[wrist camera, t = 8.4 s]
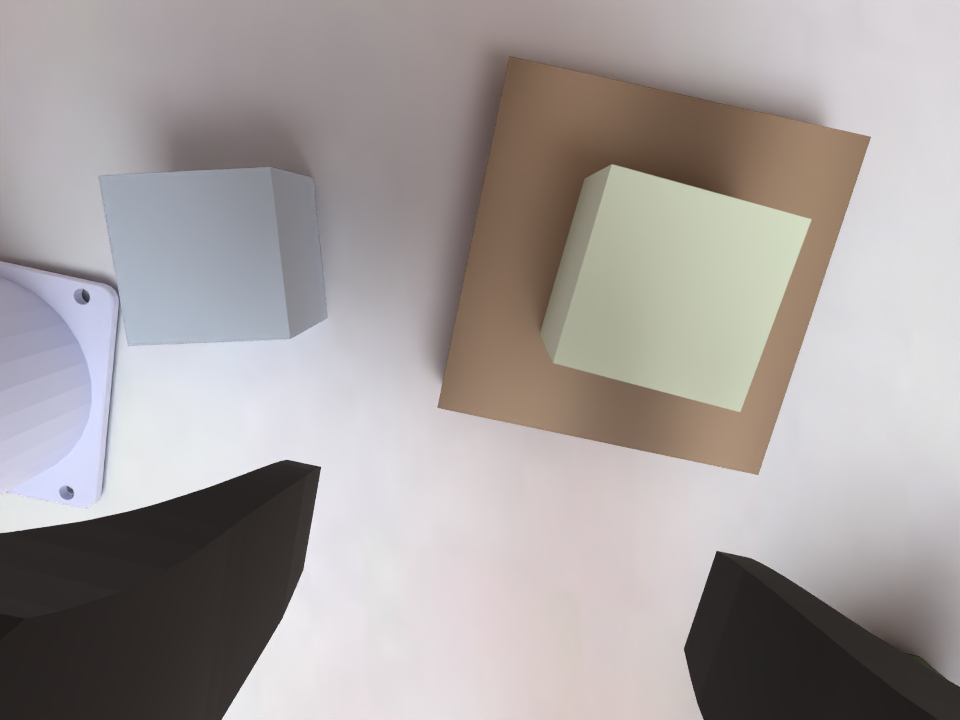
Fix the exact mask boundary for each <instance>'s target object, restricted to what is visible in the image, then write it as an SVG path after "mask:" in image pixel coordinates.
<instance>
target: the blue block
mask: <svg viewBox="0 0 960 720" xmlns="http://www.w3.org/2000/svg"><path fill="white" fill-rule="evenodd" d="M99 181H100V187H101V192H102V198H103V204H104V210H105V216H106V222H107V227H108V233H109V239H110V245H111V251H112V256H113V262H114V268H115V274H116V280H117V285H118V291H119V297H120V303H121V309H122V315H123V320H124V326H125V332H126V338H127V344H128V346H137V345H161V344H184V343H207V342H231V341H254V340H277V339H291V338H293V337H294V336H296V335H298V334H300V333H302V332H303V331H305V330H307V329H309V328H310V327H312V326H314V325H316V324H317V323H319V322H321V321H323V320H325V319H326V318H327V308H326V298H325V288H324V278H323V268H322V258H321V248H320V238H319V228H318V219H317V209H316V199H315V189H314V179H313V178H312V177H308V176H305V175H301V174H297V173H293V172H289V171H285V170H281V169H278V168H274V167H254V168H234V169H215V170H195V171H176V172H156V173H137V174H118V175H99Z"/></svg>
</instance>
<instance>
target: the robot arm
mask: <svg viewBox="0 0 960 720" xmlns="http://www.w3.org/2000/svg"><path fill="white" fill-rule="evenodd" d="M83 289H84V290H86V291H87V292H88V293H89V295H90V300H89V302H86V301H84V299H83V298H82V291H83ZM118 306H119V299H118V295H117V293H116V291H115V290H114V289H113V288H112V287H111V286H109V285H107V284H104V283H99V282H94V281H90V280H85V279H81V278H76V277H71V276H67V275H62V274H58V273H53V272H49V271H44V270H39V269H35V268H30V267H26V266H21V265H16V264H12V263H7V262H3V261H0V495H2V494H3V493H10V494H15V495H20V496H25V497H29V498H34V499H39V500H44V501H49V502H54V503H58V504H63V505H68V506H73V507H78V508H88V507H91V506H92V505H94V504H95V503H97V502H98V501H99V500H100V497H101V493H102V482H103V471H104V460H105V449H106V438H107V427H108V416H109V405H110V394H111V383H112V372H113V361H114V350H115V339H116V328H117V317H118ZM320 470H321V467H318V466H314V465H309V464H304V463H300V462H295V461H290V460H284V461H280V462H276V463H273V464H270V465H268V466H265V467H262V468H260V469H257V470H254V471H252V472H249V473H246V474H244V475H241V476H238V477H236V478H233V479H230V480H228V481H225V482H222V483H219V484H217V485H214V486H211V487H208V488H205V489H202V490H199V491H196V492H193V493H190V494H187V495H184V496H180V497H177V498H174V499H171V500H168V501H165V502H162V503H159V504H155V505H151V506H148V507H144V508H140V509H136V510H132V511H128V512H124V513H120V514H115V515H110V516H106V517H101V518H97V519H92V520H87V521H82V522H76V523H69V524H62V525H56V526H49V527H42V528H35V529H29V530H22V531H15V532H8V533H0V720H222V718H223V716H224V715H225V713H226V711H227V710H228V708H229V706H230V705H231V703H232V701H233V700H234V698H235V696H236V695H237V693H238V691H239V690H240V688H241V686H242V685H243V683H244V682H245V680H246V678H247V677H248V675H249V673H250V672H251V670H252V668H253V667H254V665H255V663H256V662H257V660H258V658H259V657H260V655H261V653H262V652H263V650H264V648H265V647H266V645H267V643H268V642H269V640H270V638H271V637H272V635H273V633H274V632H275V630H276V628H277V626H278V625H279V623H280V621H281V620H282V618H283V615H284V613H285V611H286V609H287V606H288V604H289V602H290V600H291V597H292V595H293V593H294V590H295V588H296V586H297V583H298V581H299V579H300V576H301V574H302V572H303V568H304V562H305V557H306V551H307V545H308V539H309V533H310V528H311V522H312V516H313V510H314V505H315V499H316V493H317V487H318V482H319V476H320ZM67 486H69V487H71V488H72V489H73V491H74V495H73V494H70V493H69V492H68V490H67ZM684 651H685V656H686V660H687V664H688V669H689V673H690V677H691V681H692V685H693V689H694V692H695V696H696V700H697V703H698V706H699V709H700V711H701V714H702V716H703V719H704V720H960V687H959V686H957V685H955V684H954V683H952V682H950V681H948V680H947V679H945V678H943V677H942V676H940V675H938V674H936V673H935V672H933V671H931V670H929V669H928V668H926V667H925V666H923V665H921V664H920V663H918V662H916V661H915V660H913V659H911V658H910V657H908V656H907V655H905V654H903V653H902V652H900V651H898V650H897V649H895V648H894V647H892V646H890V645H889V644H887V643H885V642H884V641H882V640H881V639H879V638H878V637H876V636H874V635H873V634H871V633H870V632H868V631H867V630H865V629H864V628H862V627H861V626H859V625H857V624H856V623H854V622H853V621H851V620H850V619H848V618H847V617H845V616H844V615H842V614H841V613H839V612H838V611H836V610H835V609H833V608H832V607H830V606H829V605H827V604H826V603H824V602H823V601H821V600H820V599H818V598H817V597H815V596H813V595H812V594H810V593H809V592H807V591H806V590H804V589H803V588H801V587H800V586H798V585H797V584H795V583H794V582H792V581H790V580H789V579H787V578H786V577H784V576H782V575H781V574H779V573H778V572H776V571H774V570H772V569H771V568H769V567H767V566H765V565H763V564H762V563H760V562H757V561H755V560H753V559H751V558H747V557H743V556H738V555H733V554H729V553H724V552H719V551H717V552H716V555H715V558H714V561H713V564H712V567H711V570H710V573H709V576H708V579H707V582H706V585H705V588H704V591H703V594H702V597H701V600H700V603H699V606H698V609H697V612H696V615H695V618H694V620H693V623H692V626H691V629H690V632H689V635H688V638H687V641H686V644H685V647H684Z"/></svg>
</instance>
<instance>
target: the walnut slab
mask: <svg viewBox="0 0 960 720" xmlns="http://www.w3.org/2000/svg"><path fill="white" fill-rule="evenodd" d="M870 138H871V137H869V136H865V135H860V134H856V133H851V132H847V131H842V130H838V129H833V128H829V127H824V126H820V125H815V124H811V123H806V122H802V121H797V120H793V119H788V118H784V117H779V116H775V115H771V114H766V113H762V112H757V111H753V110H748V109H744V108H739V107H735V106H730V105H726V104H721V103H717V102H712V101H708V100H703V99H699V98H694V97H690V96H685V95H681V94H676V93H672V92H667V91H663V90H658V89H654V88H649V87H645V86H640V85H636V84H632V83H627V82H623V81H618V80H614V79H609V78H605V77H600V76H596V75H591V74H587V73H582V72H578V71H573V70H569V69H564V68H560V67H555V66H551V65H546V64H542V63H537V62H533V61H528V60H524V59H519V58H515V57H510V56H509V61H508V66H507V71H506V75H505V80H504V85H503V90H502V95H501V100H500V105H499V110H498V115H497V119H496V124H495V129H494V134H493V139H492V144H491V149H490V154H489V159H488V163H487V168H486V173H485V178H484V183H483V188H482V193H481V198H480V202H479V207H478V212H477V217H476V222H475V227H474V232H473V237H472V242H471V246H470V251H469V256H468V261H467V266H466V271H465V276H464V281H463V286H462V290H461V295H460V300H459V305H458V310H457V315H456V320H455V325H454V330H453V334H452V339H451V344H450V349H449V354H448V359H447V364H446V369H445V374H444V378H443V383H442V388H441V393H440V398H439V403H438V408H441V409H446V410H451V411H456V412H460V413H465V414H470V415H475V416H479V417H484V418H489V419H494V420H499V421H503V422H508V423H513V424H518V425H522V426H527V427H532V428H537V429H542V430H546V431H551V432H556V433H561V434H565V435H570V436H575V437H580V438H585V439H589V440H594V441H599V442H604V443H608V444H613V445H618V446H623V447H628V448H632V449H637V450H642V451H647V452H651V453H656V454H661V455H666V456H670V457H675V458H680V459H685V460H690V461H694V462H699V463H704V464H709V465H713V466H718V467H723V468H728V469H733V470H737V471H742V472H747V473H752V474H756V475H758V474H759V471H760V468H761V465H762V462H763V459H764V456H765V453H766V450H767V447H768V444H769V441H770V438H771V435H772V432H773V429H774V426H775V423H776V420H777V417H778V414H779V411H780V408H781V405H782V402H783V399H784V396H785V393H786V390H787V387H788V384H789V381H790V378H791V375H792V372H793V369H794V366H795V363H796V360H797V357H798V354H799V351H800V348H801V345H802V342H803V339H804V336H805V333H806V330H807V327H808V324H809V321H810V318H811V315H812V312H813V309H814V306H815V303H816V300H817V297H818V294H819V291H820V288H821V285H822V282H823V279H824V276H825V273H826V270H827V267H828V264H829V261H830V258H831V255H832V252H833V249H834V246H835V243H836V240H837V237H838V234H839V231H840V228H841V225H842V222H843V219H844V216H845V213H846V210H847V207H848V204H849V201H850V198H851V195H852V192H853V189H854V186H855V183H856V180H857V177H858V174H859V171H860V168H861V165H862V162H863V159H864V156H865V153H866V150H867V147H868V144H869V141H870ZM611 164H613V165H617V166H620V167H624V168H628V169H631V170H635V171H639V172H642V173H646V174H649V175H653V176H657V177H660V178H664V179H668V180H671V181H675V182H678V183H682V184H686V185H689V186H693V187H697V188H700V189H704V190H707V191H711V192H715V193H718V194H722V195H726V196H729V197H733V198H736V199H740V200H744V201H747V202H751V203H755V204H758V205H762V206H765V207H769V208H773V209H776V210H780V211H784V212H787V213H791V214H794V215H798V216H802V217H805V218H809V219H812V220H811V223H810V225H809V228H808V231H807V233H806V236H805V239H804V241H803V244H802V247H801V250H800V252H799V255H798V258H797V260H796V263H795V266H794V268H793V271H792V274H791V277H790V279H789V282H788V285H787V287H786V290H785V293H784V296H783V298H782V301H781V304H780V306H779V309H778V312H777V314H776V317H775V320H774V323H773V325H772V328H771V331H770V333H769V336H768V339H767V341H766V344H765V347H764V350H763V352H762V355H761V358H760V360H759V363H758V366H757V369H756V371H755V374H754V377H753V379H752V382H751V385H750V387H749V390H748V393H747V396H746V398H745V401H744V404H743V406H742V409H741V412H737V411H733V410H730V409H726V408H722V407H718V406H714V405H711V404H707V403H703V402H699V401H695V400H692V399H688V398H684V397H680V396H676V395H673V394H669V393H665V392H661V391H657V390H654V389H650V388H646V387H642V386H638V385H635V384H631V383H627V382H623V381H619V380H616V379H612V378H608V377H604V376H600V375H597V374H593V373H589V372H585V371H581V370H578V369H574V368H570V367H566V366H562V365H559V364H555V363H553V362H552V360H551V358H550V355H549V353H548V351H547V349H546V346H545V344H544V342H543V340H542V338H541V335H540V331H541V328H542V324H543V321H544V317H545V314H546V310H547V307H548V303H549V300H550V296H551V293H552V289H553V286H554V282H555V279H556V276H557V272H558V269H559V265H560V262H561V258H562V255H563V251H564V248H565V244H566V241H567V237H568V234H569V231H570V227H571V224H572V220H573V217H574V213H575V210H576V206H577V203H578V199H579V196H580V192H581V189H582V185H583V182H584V179H585V178H587V177H589V176H590V175H592V174H594V173H596V172H598V171H600V170H602V169H604V168H606V167H607V166H609V165H611Z"/></svg>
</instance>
